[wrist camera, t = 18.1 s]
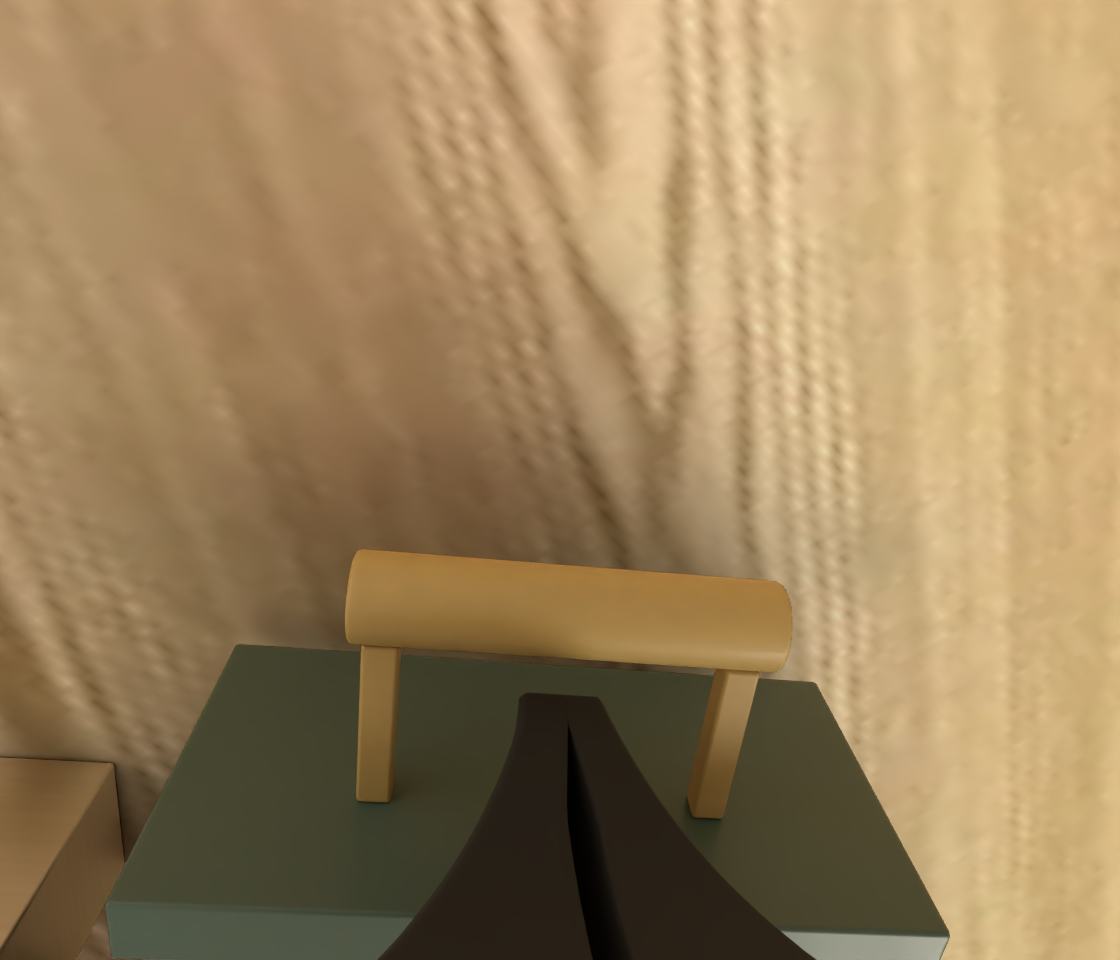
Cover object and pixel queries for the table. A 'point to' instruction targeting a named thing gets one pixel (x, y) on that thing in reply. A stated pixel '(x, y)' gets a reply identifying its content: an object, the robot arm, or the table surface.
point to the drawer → (479, 756)
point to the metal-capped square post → (55, 854)
